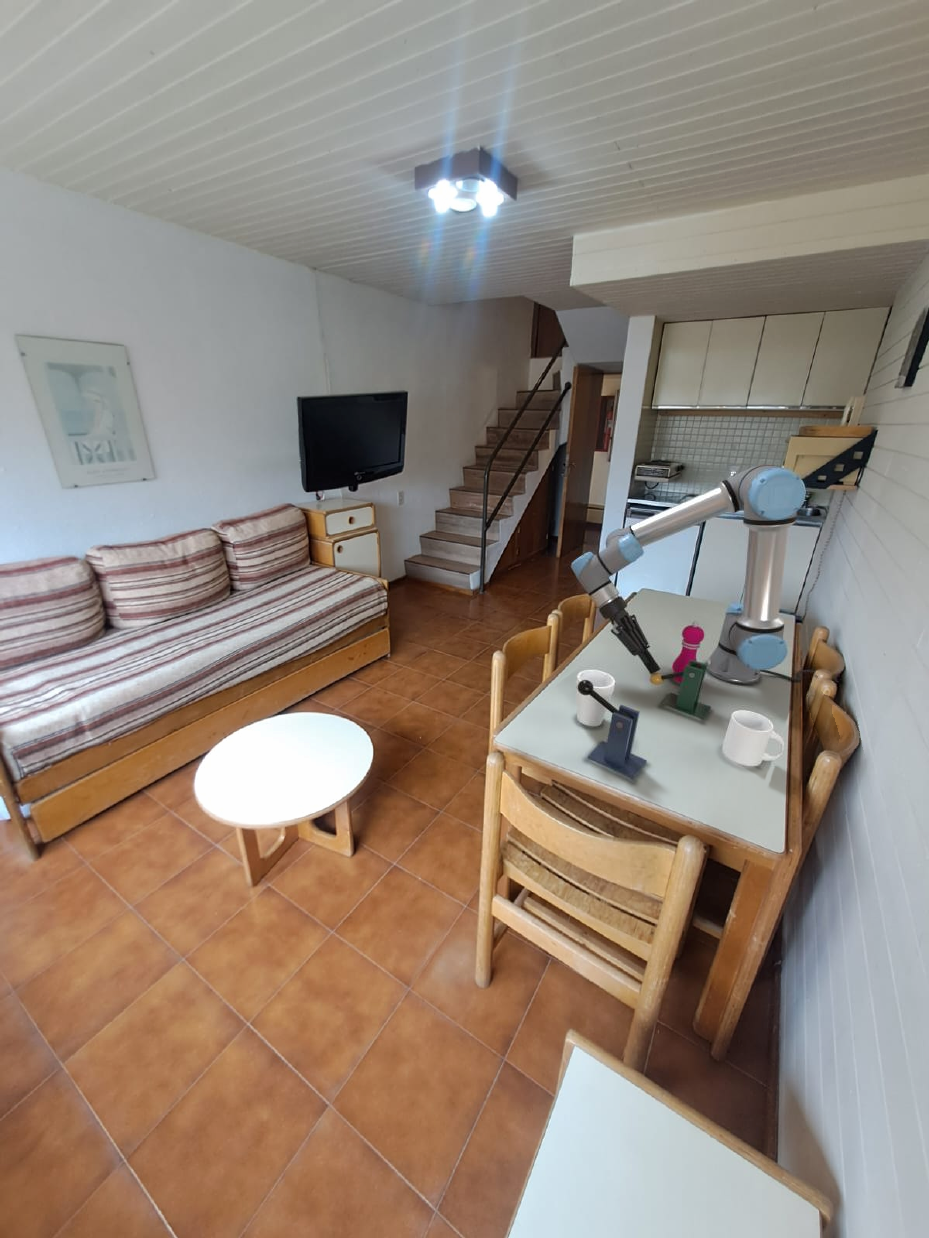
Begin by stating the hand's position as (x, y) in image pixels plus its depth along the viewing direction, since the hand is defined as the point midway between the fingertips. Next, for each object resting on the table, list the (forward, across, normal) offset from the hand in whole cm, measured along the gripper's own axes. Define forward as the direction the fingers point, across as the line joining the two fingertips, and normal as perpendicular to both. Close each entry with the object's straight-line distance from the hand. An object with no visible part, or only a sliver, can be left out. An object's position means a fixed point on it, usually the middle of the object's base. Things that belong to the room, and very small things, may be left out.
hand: (655, 671), depth 139 cm
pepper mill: (+9, -16, -3) cm, 18 cm away
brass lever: (+5, 0, +4) cm, 6 cm away
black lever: (-4, +35, +2) cm, 35 cm away
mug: (+26, +13, +14) cm, 32 cm away
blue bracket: (+9, +35, -3) cm, 36 cm away
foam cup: (+1, +24, -11) cm, 26 cm away
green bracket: (+13, 0, +1) cm, 13 cm away
